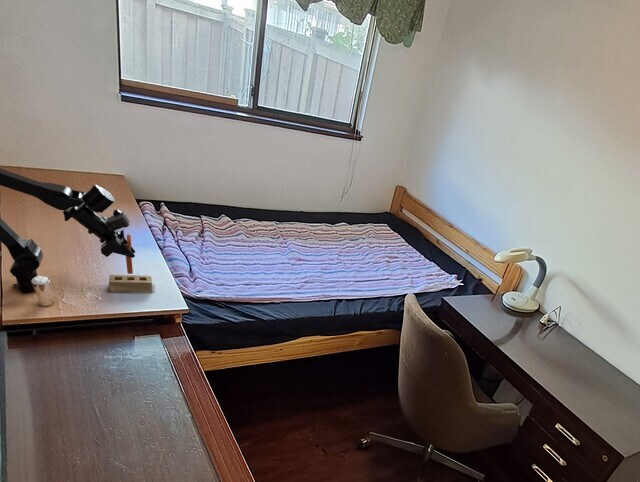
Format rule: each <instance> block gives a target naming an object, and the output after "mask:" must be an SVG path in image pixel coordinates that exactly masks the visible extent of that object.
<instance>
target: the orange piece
mask: <svg viewBox="0 0 640 482" xmlns="http://www.w3.org/2000/svg"><path fill="white" fill-rule="evenodd" d="M126 240H127V244H125V245H126V246H127V247H128V248H129V249H130V250H131V246H132V236H131V234H127V233H126ZM125 262H126V263H125V264H126V271H127V275H133V274H134V269H133V258H131V257H128V256H125Z"/></svg>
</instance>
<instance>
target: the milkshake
mask: <svg viewBox="0 0 640 482" xmlns="http://www.w3.org/2000/svg"><path fill="white" fill-rule="evenodd" d="M31 282H32V284H33V287H34V289H35V291H34V292H35V294H36V298H37V300H38V303H39V305H40V306H43V307H48V306H51V305H52V304H53V297H52V288H51V279H50V277H47V276H44V275H38V276H37V277H34V278H33V279H32V281H31Z"/></svg>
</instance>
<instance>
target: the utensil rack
mask: <svg viewBox="0 0 640 482" xmlns="http://www.w3.org/2000/svg"><path fill="white" fill-rule="evenodd" d="M108 288H109V293H135V294H136V293H137V294H138V293H139V294H140V293H141V294H142V293H145V294H146V293H147V294H148V293H150V294H151V293H153V279H152V275H140V274H136V275H135V274H134V275H133V274H109V278H108Z"/></svg>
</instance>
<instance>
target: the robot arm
mask: <svg viewBox="0 0 640 482" xmlns="http://www.w3.org/2000/svg"><path fill="white" fill-rule="evenodd" d="M0 186H1V187H4V188H7V189H10V190H13V191H15V192H19V193H23V194H26V195H28V196H32V197H34V198H36V199H38V200H40V201H41V202H42V203H44V204H45V205H47V206H49V207H52V208H54V209H56V210H59V211H62V214H63V217H64V222H68V221H70V220H71V219H73V220H74V221H76V222H77V223H78V224H80V225H81V226H82V227H84V229H86V230H87V233H88V234H89V235H94V236H95V237H97V238H98V239H99V242H100V243H101V246H100V253H101V255H103V256H104V257H105V258H109V257H110V256H111V255H112V254H117V255H121V256H125V257H126V256H128V257H131V258H132V259H134V258H135V257H136V254H135V253H136V250H135V249H134V248H133V246H132V245H131V250H130V249H129V248H128V247H127V246H126V245H125V244H127V237H125V229H126V228H128V227H129V226H130V223H131V221H130V220H129V218H128V217H127V214H126V213H125V212H124V211H121V210H119V209H117V208H116V209H114V210H112V215H110V217H106V216H105V215H100V214H102V213H103V212H105V211H106V210H107V209H108V208H110V207H111V206H112V205H113V204H114V203H115V202H116V199H115V197H114V196H113V194H112V193H111V192H110V191H109V190H108V189H105V188H104V187H102V186H99V185H98V184H97V183H95V184H93V185H92V186H91V187H90V189H88V191H86V192H85V191H81V190H77V189H76V190H75V189H71V188H70V187H68V186H67V185H64V184H58V183H53V182H44V181H43V182H42V181H38V180H35V179H32V178H30V177H27V176H23V175H21V174H17V173H15V172H12V171H10V170H6V169H3V168H0ZM124 228H125V229H124ZM0 242H1V243H2V244H3V245H4V246H5V247H6V248H7V251H8V253H9V255H10V257H11V259H12V260H13V263H12V265H11V267H10V269H9V272H10V273H11V275H12V276H13V277H15V281H16V283H13V284H12V286H13V287H14V288H15V289H16V290H18V291H19V292H20V293H22V294H24V295H25V294H29V293H33V292H35V289H34V287H33V284H32V282H31V281H32V279H33V278H34V277H37V276H39V274H38V270H37V269H39V267H40V265H41V263H42V260H43V258H44V253H43V251H42V247H41V246H39V245H37V244H36V242H35V241H34V240H33V238H30V239H28V240H26V239H24V238H22V237H21V236H19V234H18V233H16V232H15V230H14V229H13V228H11V227H10V226H9V225H8V224H7V222H5V221H4V220H3V219H2V218H1V217H0Z"/></svg>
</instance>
